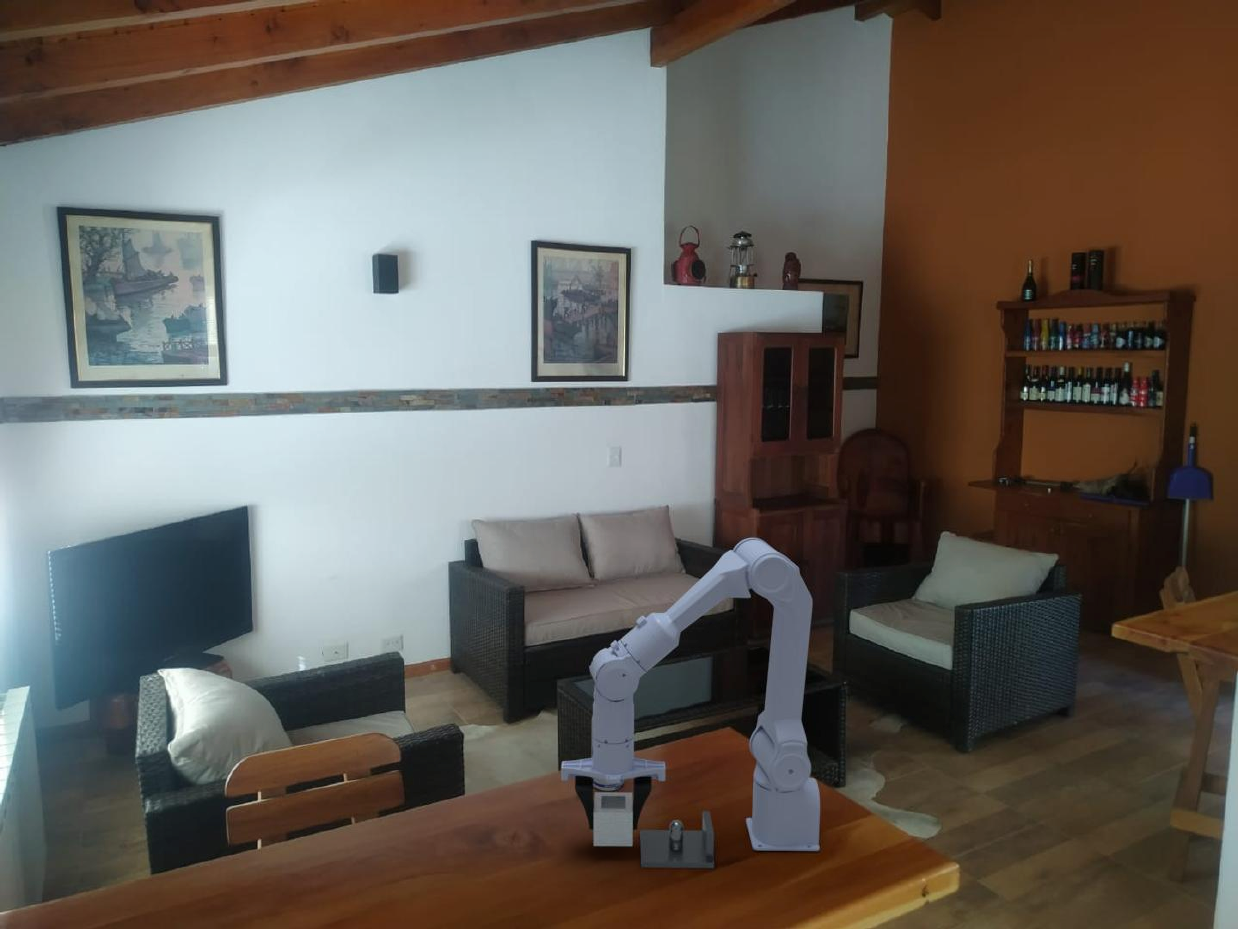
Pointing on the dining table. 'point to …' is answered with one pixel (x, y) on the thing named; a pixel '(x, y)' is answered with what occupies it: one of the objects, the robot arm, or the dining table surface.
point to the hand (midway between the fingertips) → (613, 826)
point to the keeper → (678, 846)
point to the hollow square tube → (613, 819)
